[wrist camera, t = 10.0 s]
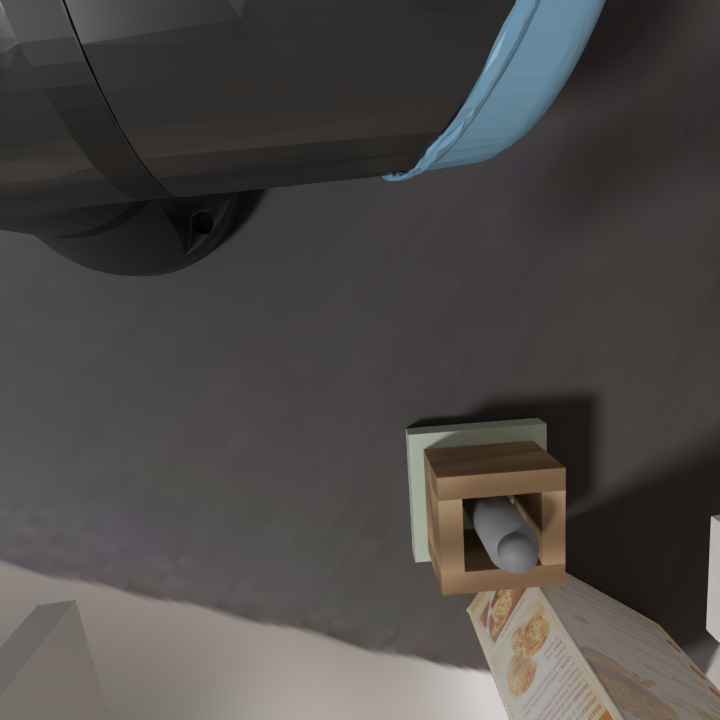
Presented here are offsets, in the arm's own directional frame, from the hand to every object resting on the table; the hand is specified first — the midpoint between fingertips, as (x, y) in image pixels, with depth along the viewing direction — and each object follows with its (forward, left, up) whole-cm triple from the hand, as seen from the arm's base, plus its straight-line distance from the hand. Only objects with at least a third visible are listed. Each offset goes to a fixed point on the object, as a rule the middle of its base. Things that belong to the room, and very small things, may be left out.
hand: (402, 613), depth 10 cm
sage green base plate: (+9, +8, -25) cm, 28 cm away
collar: (+9, +8, -23) cm, 26 cm away
